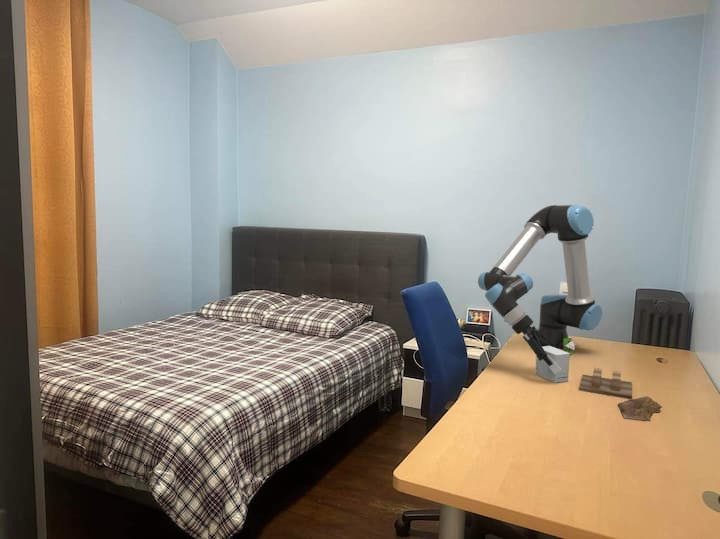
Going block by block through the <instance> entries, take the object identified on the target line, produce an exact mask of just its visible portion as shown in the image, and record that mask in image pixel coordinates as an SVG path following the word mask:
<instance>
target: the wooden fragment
mask: <svg viewBox="0 0 720 539" xmlns="http://www.w3.org/2000/svg"><path fill="white" fill-rule="evenodd" d="M617 405H618V407H619V410H620V412H621V414H622V416H623V420H631V421H636V422H637V421H641V422H651V416H653V414H657V413H660V412H662V411H661V408H663V406H662V405H660V403H658V402H657V401H655V400H653V399H652V398H651V397H650V396H648V395H647V396H643V397H637V398H634V399H633V398H632V399H627V400H625V401H623V402H622V401H621V402H618V403H617Z"/></svg>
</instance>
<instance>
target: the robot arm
mask: <svg viewBox="0 0 720 539" xmlns="http://www.w3.org/2000/svg"><path fill="white" fill-rule="evenodd" d="M593 227H594V216H593V214H592V211H591V210H590V209H588V208H587V207H586V206H584V205H576V204H569V205H566V204H565V205H559V204H558V205H556V204H555V205H548V206H546V207H544V208H541V209H540V210H539V211H537V212H536V213H534V214H533V215H532V216H531V217H530V218H529V219H527V221H526V222H525V224H524V227H523V230H522V231H521V232H520V234H519V235H518V236H517V238H516V239H515V240H514V241H513V243H511V245H510V246H509V248H508V249H507V250H506V251H505V252H504V254H503V255H501V257H500V258H499V259H498V261H497V262H496V263H495V265H494V266H493V267H492V268H491V269H490V271H489V272H488V271H485V272H482V273H480V274H479V276H478V279H477V284H478V287H479V288H480V290H482V291H485V294H484V297H485V298H486V300H487V302H488V303H489V304H490V305H491V307H493V309H495V311H497V313H498V315H500V316H501V317H502V319H504V320H503V322H505V323H507V324H508V325H509V326H511V329H512V330H513V331H514V333H516V334H517V335H520V334H521V333H522V334H523V336H522V338H523V339H524V341H525V342H526V343H527V344H528V346H529V347H530V349H531V351H533V353H534V355H535V356H537V357H538V359H539V360H540V361H541V360H543V361H544V362H545V364H546V365H547V366H548V367H549V368H550V369H551V370H552V372H553V373H554V374H556V373H558V372H559V371H561V368H560V367H559V366H558V365H557V364H556V363H555V362H554V361H553V359H552V358H551V357H550V356H549V355H547V354H546V352H545V351H544V349H543V347H544V346H552V347H554V348H557V349H560V348H561V349H560V350H564V349H563V347H562V346H563V343H562V341H563V338H569V334H568V332H567V327H572V328H575V329H579V330H584V331H592V330H594V329H595V328H597V327H598V326H599V324H600V322H601V320H602V317H603V308H602V306H601V305H600V304H598V303H596V301H595V296H594V295H592V294H591V289H590V281H589V280H590V279H589V269H588V261H587V260H588V259H587V252H586V251H587V250H586V249H587V248H586V240H587V238H589V234H590V233H592V230H593ZM549 234H557V239H558V242H560V243H562V253H563V258H564V259H563V260H564V268H565V278H566V285H567V294H546V295H543V296H541V299H540V305H539V306H540V308H539V309H540V310H539V326H538V329H537V327H535V325H534V326H532V325H533V323H534V320H533V319H532V318H531V317H530V316H529V315H528V314H526V311H525V310H524V309H523V308H522V307H521V306H520V305H519V303H517V301H518V300H520V299H521V298H522V297H524V295H525V296H526V294H528V293H529V291H531V290H532V288H534V281H533V279H532V277H531V276H530V275H529V274H527V273H526V272H519V273H518V274H516V275H515V276H512V275H513V273H515V271H516V269H517V268H518V267H519V266H520V264H521V263H522V262H523V261H524V259H525V258H526V257H527V256H528V254H529V253H530V252H531V251H532V250H533V248H534V247H535V246H536V245H537V243H538V242H539V241H540V240H543V239H544V238H545V237H546V236H547V235H549ZM563 342H564V341H563ZM561 343H562V344H561Z"/></svg>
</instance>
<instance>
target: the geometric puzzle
mask: <svg viewBox="0 0 720 539" xmlns="http://www.w3.org/2000/svg"><path fill="white" fill-rule="evenodd" d="M563 341H564V342H563ZM563 341H562V343H563V346H562V347H563V349H561V348H560V350H563V351H565V352H568V353H570V355H573V354H575V352H576V347H577V346H579V344H578V343H577V342H575V340H573V339H572V337H571V338H570V337H568V338H563ZM562 343H561V344H562ZM575 346H576V347H575Z"/></svg>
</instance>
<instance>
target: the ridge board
mask: <svg viewBox="0 0 720 539" xmlns="http://www.w3.org/2000/svg"><path fill="white" fill-rule="evenodd" d="M602 372H603V369H602V368H597V367H594V368H593V371H592V375H588V374H582V375H581V380H580V383H579V387H578V391H581V392H587V393H593V394H599V395H605V396H611V397H617V398H622V399H627V400H632V399H633V383H632V381H627V380H621V379H622V378H621V375H622V374H621V373H622V372H621V371H618V370H612V376H611V378H607V377H602Z"/></svg>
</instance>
